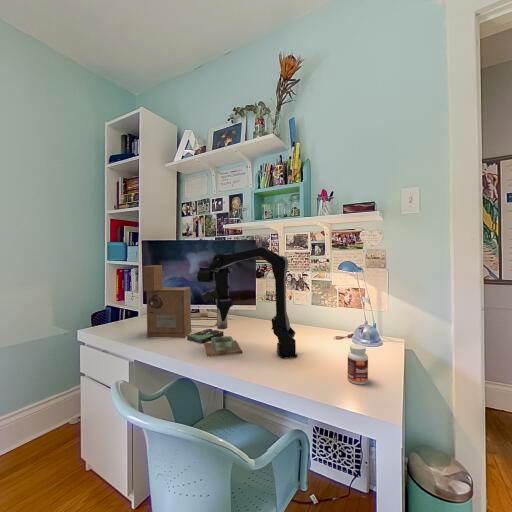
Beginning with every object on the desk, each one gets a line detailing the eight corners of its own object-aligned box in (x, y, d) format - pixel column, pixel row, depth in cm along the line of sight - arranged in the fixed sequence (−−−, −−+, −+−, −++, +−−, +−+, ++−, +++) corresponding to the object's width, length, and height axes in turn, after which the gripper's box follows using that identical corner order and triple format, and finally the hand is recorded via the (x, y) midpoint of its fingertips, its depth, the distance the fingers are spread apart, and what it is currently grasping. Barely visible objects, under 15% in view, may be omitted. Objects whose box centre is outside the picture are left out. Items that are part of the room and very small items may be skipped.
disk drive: (208, 333, 146) (186, 341, 134) (208, 328, 146) (186, 335, 134) (224, 337, 141) (202, 345, 128) (224, 331, 141) (202, 338, 128)
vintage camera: (143, 340, 135) (141, 266, 134) (155, 331, 149) (154, 264, 149) (182, 340, 134) (181, 266, 133) (191, 331, 148) (190, 264, 147)
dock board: (235, 342, 130) (235, 333, 130) (241, 353, 116) (241, 343, 116) (204, 345, 127) (204, 336, 126) (207, 356, 113) (207, 346, 113)
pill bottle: (357, 386, 87) (357, 351, 87) (343, 378, 93) (343, 345, 92) (372, 382, 90) (372, 348, 89) (358, 375, 95) (357, 342, 95)
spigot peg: (226, 326, 124) (226, 303, 124) (228, 328, 120) (227, 305, 119) (216, 327, 123) (216, 303, 123) (217, 329, 119) (217, 305, 118)
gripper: (201, 281, 128) (201, 316, 128) (204, 286, 110) (204, 326, 110) (225, 280, 131) (226, 314, 131) (232, 285, 113) (233, 324, 113)
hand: (222, 319), depth 121 cm, fingers closed on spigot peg, 4 cm apart
